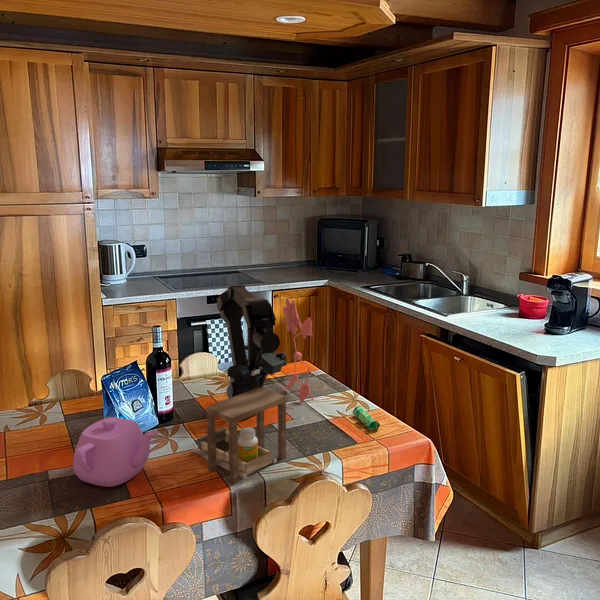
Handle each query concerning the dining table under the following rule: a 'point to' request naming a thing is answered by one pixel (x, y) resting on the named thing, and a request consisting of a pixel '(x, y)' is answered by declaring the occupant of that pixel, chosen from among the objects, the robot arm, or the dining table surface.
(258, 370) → the robot arm
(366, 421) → the candy
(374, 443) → the dining table surface
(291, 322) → the figurine
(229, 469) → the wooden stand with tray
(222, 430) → the wooden rack
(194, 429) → the dining table surface
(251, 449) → the supplement bottle
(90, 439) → the teapot
